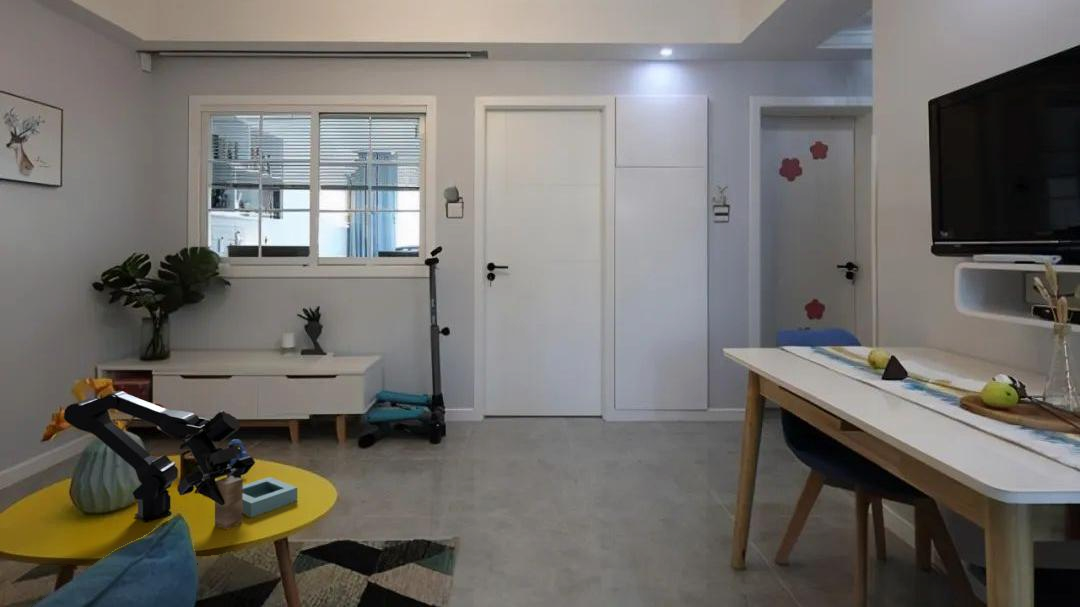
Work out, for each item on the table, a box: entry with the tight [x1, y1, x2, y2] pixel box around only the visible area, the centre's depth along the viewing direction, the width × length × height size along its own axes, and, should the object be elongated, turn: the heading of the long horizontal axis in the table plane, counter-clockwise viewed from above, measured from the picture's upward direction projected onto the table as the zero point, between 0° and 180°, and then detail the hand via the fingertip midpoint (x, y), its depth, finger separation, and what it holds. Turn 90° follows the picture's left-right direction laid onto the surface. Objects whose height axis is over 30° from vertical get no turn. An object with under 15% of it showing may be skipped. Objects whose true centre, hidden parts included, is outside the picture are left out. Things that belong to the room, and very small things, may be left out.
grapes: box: [227, 438, 250, 467], centre depth 182 cm, size 12×7×12 cm, turn 11°
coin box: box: [242, 476, 298, 518], centre depth 161 cm, size 14×14×4 cm
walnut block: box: [214, 476, 244, 530], centre depth 147 cm, size 5×5×12 cm
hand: (232, 501), depth 146 cm, fingers closed on walnut block, 5 cm apart
